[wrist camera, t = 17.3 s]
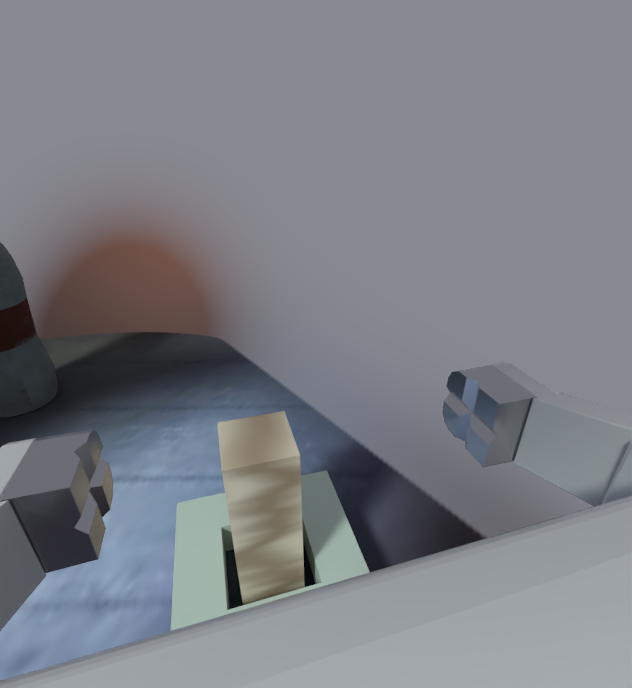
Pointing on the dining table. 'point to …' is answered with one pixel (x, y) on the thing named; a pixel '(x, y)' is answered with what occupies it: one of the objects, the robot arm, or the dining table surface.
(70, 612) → the dining table surface
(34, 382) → the bottle
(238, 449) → the peg
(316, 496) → the socket plate
